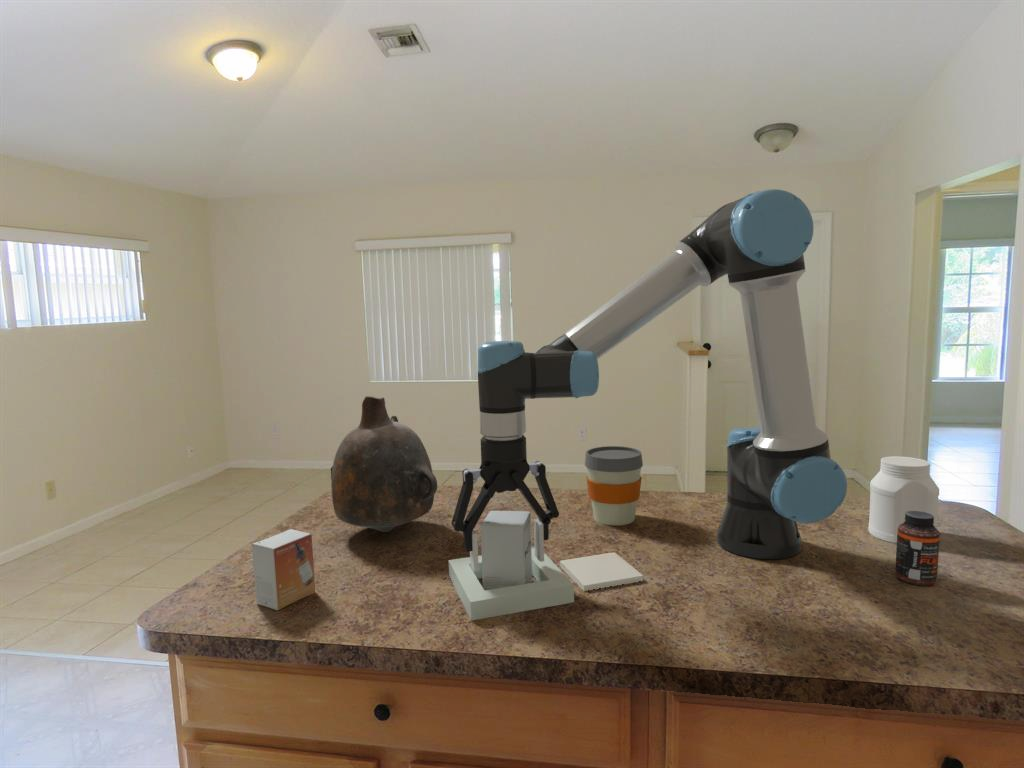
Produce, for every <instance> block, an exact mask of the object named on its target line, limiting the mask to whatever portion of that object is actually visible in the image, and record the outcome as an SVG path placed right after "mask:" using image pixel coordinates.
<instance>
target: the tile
mask: <svg viewBox="0 0 1024 768" xmlns="http://www.w3.org/2000/svg"><path fill="white" fill-rule="evenodd" d="M559 566H560V568H561V569H562V570H563V571H564V572H565V573H566V574H567V576H569V577H570V578H571V579H572V581H573V582H574V583H577V584H578V587H579V588H580V587H581V588H580V589H581V590H582V589H583V590H582V591H583V592H588V590H589V591H593V589H595V590H599V588H601V589H606V588H611V587H610V586H612V587H616V586H617V585H618V586H622V584H624V585H628V584H633V583H634V582H635V583H639V581H641V582H644V575H643V574H642V573H641V572H639V571H638V570H637V569H636V568H634V567H633V566H632V565H631V564H630V563H629V562H627V561H626V560H625V559H623V558H622V557H621V556H620V555H619V554H617V553H616V552H614V551H613V552H607V553H602V554H601V553H600V554H595V555H594V554H593V555H587V556H581V557H574V558H569V559H563V560H559ZM577 584H576V585H577ZM618 586H617V587H618ZM605 587H606V588H605Z"/></svg>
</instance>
